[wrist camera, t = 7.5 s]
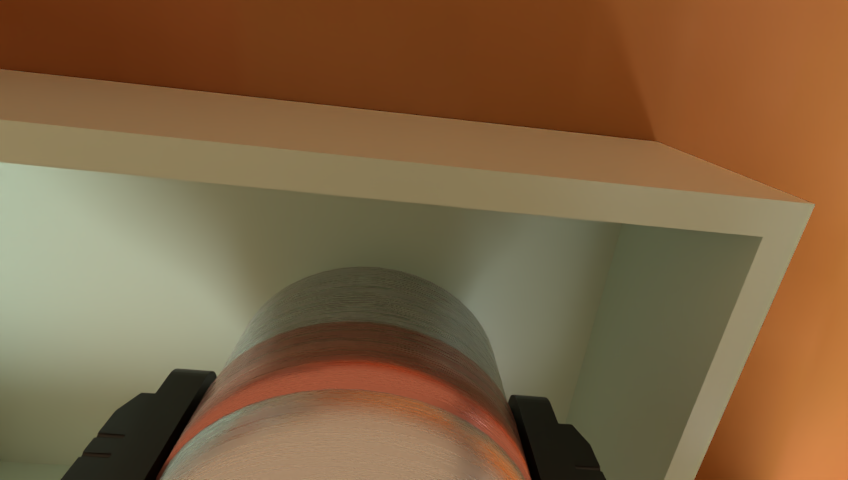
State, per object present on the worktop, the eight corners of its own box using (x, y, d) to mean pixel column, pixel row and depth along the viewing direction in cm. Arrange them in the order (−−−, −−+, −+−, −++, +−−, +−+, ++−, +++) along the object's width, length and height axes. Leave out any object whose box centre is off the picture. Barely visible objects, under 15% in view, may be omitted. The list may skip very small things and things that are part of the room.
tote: (657, 141, 12) (814, 204, 7) (554, 491, 16) (611, 668, 12) (-119, 55, 11) (-524, 65, 6) (0, 459, 15) (-180, 641, 11)
